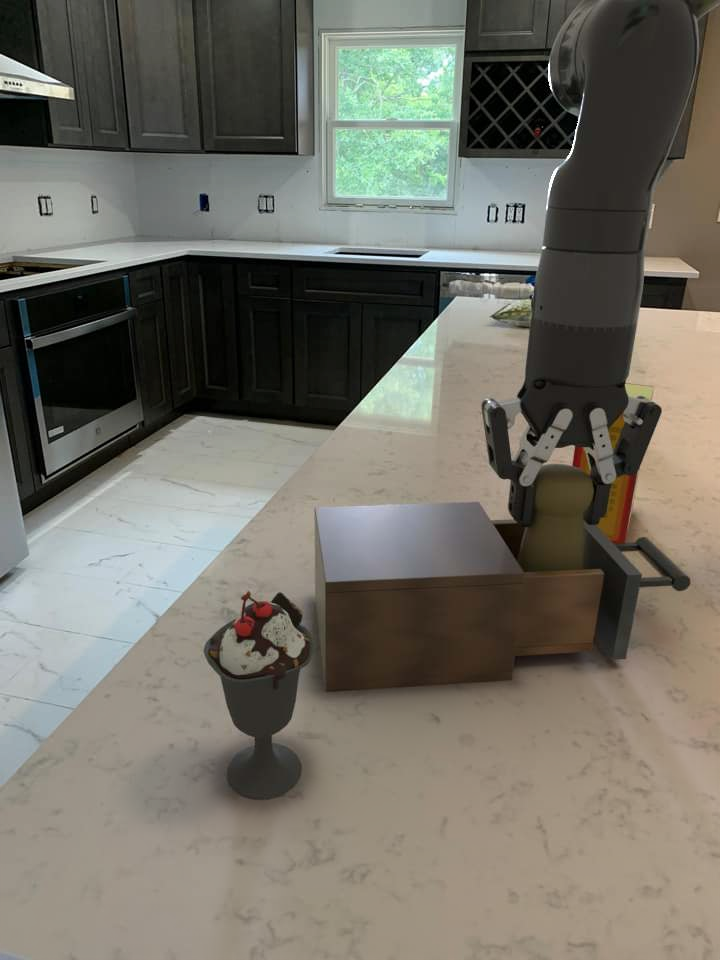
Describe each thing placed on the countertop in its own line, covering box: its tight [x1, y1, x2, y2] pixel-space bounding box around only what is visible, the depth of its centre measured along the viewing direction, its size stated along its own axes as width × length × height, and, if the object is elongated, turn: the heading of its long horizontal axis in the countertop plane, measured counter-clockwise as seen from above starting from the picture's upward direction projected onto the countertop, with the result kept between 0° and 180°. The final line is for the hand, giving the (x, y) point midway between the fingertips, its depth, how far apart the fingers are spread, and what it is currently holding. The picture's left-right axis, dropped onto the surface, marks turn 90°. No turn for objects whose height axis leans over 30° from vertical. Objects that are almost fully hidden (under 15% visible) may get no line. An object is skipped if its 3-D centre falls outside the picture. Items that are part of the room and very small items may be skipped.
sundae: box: [203, 590, 314, 801], centre depth 46 cm, size 7×7×15 cm
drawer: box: [490, 518, 691, 661], centre depth 62 cm, size 19×12×8 cm, turn 97°
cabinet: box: [314, 501, 525, 693], centre depth 61 cm, size 15×13×10 cm
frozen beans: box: [489, 298, 532, 328], centre depth 195 cm, size 21×6×25 cm
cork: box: [517, 463, 594, 572], centre depth 60 cm, size 6×6×11 cm
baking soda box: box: [571, 382, 655, 543], centre depth 81 cm, size 10×6×16 cm
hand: (555, 521), depth 60 cm, fingers closed on cork, 5 cm apart
